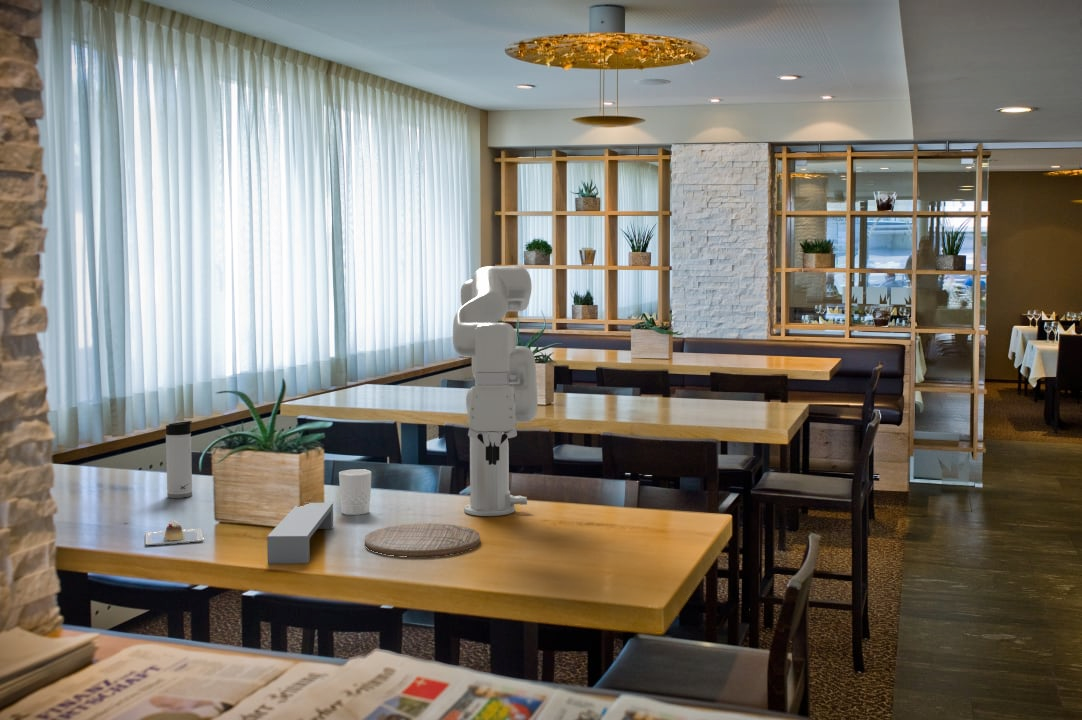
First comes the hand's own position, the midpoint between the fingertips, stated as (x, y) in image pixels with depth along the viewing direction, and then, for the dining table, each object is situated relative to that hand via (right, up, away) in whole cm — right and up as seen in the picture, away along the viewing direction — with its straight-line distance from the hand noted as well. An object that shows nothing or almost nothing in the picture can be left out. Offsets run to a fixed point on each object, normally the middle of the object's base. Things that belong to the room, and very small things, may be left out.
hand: (492, 463), depth 240 cm
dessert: (-71, -18, +4) cm, 73 cm away
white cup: (-35, -15, +31) cm, 49 cm away
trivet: (-15, -18, 0) cm, 23 cm away
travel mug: (-85, -14, +51) cm, 100 cm away
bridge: (-41, -17, -1) cm, 45 cm away
